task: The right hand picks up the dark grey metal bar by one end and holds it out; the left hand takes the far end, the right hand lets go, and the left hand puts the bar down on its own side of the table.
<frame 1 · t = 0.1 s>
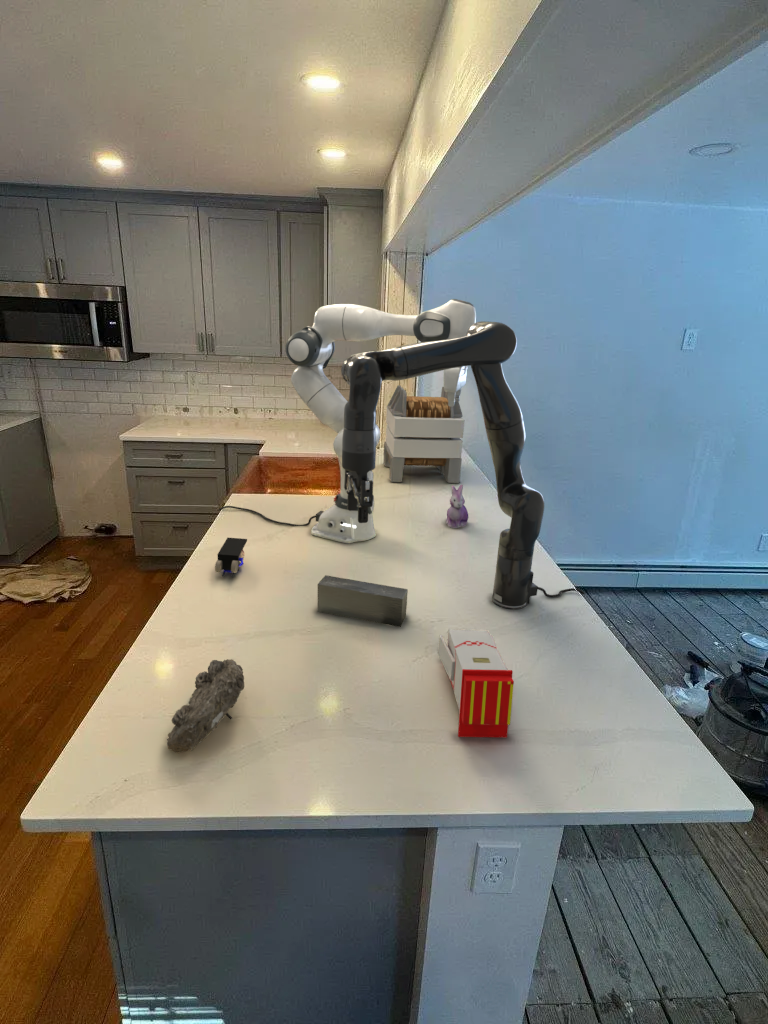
left hand: (453, 403, 174), 48 cm above the counter, tool pointing down, fingers open, 8 cm apart
right hand: (357, 516, 132), 29 cm above the counter, tool pointing down, fingers open, 8 cm apart
toy: (469, 691, 119), on the counter
figurine: (456, 524, 211), on the counter
figurine character: (232, 569, 168), on the counter
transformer: (419, 473, 275), on the counter
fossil: (212, 717, 108), on the counter
bar: (361, 614, 147), on the counter
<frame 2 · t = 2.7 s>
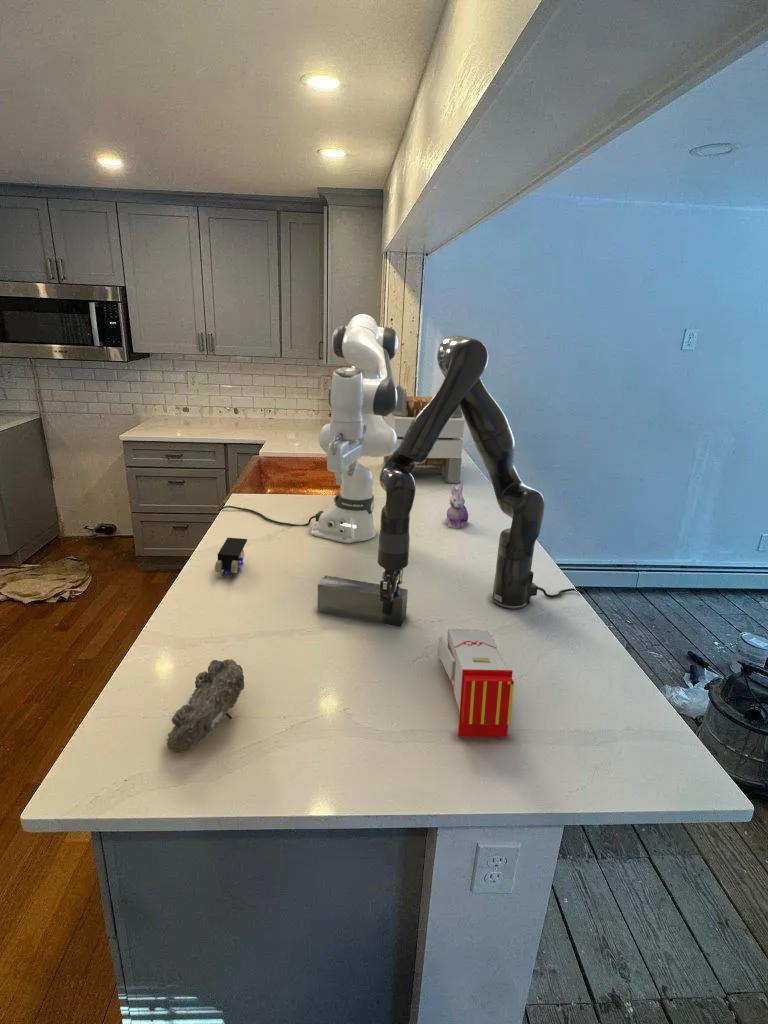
left hand: (345, 480, 157), 30 cm above the counter, tool pointing down, fingers open, 8 cm apart
right hand: (390, 607, 144), 3 cm above the counter, tool pointing down, fingers closed on bar, 5 cm apart
bar: (361, 614, 147), on the counter, touching right hand
everything else where it was.
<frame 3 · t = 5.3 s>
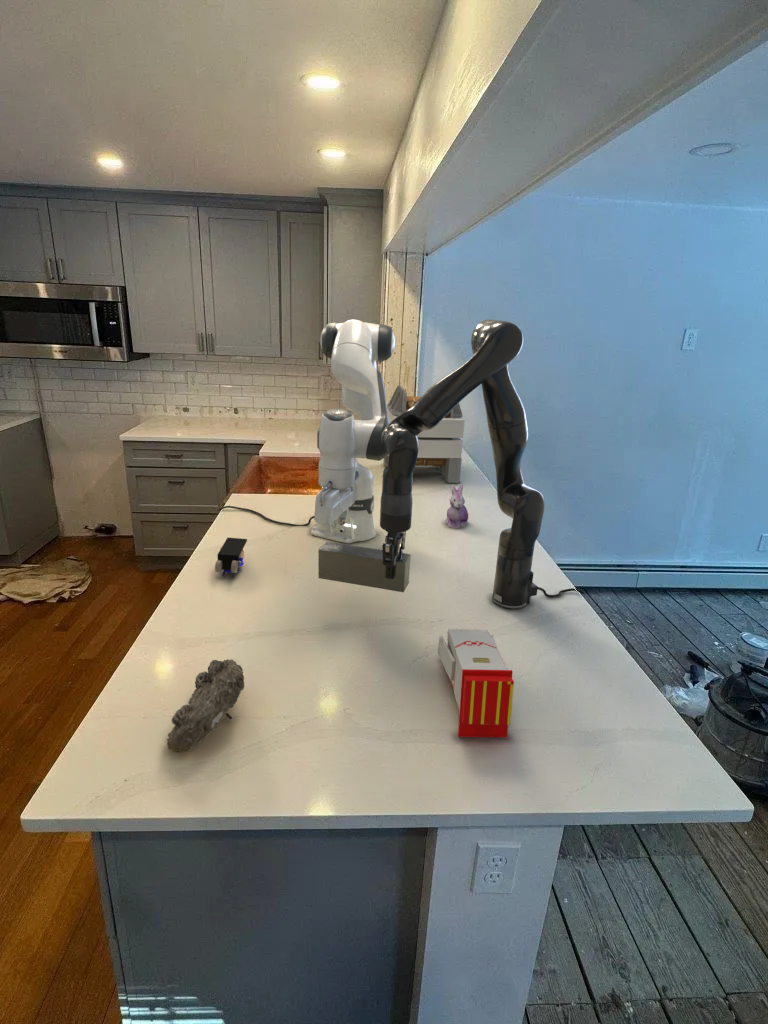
left hand: (335, 530, 143), 22 cm above the counter, tool pointing down, fingers open, 8 cm apart
right hand: (393, 572, 140), 13 cm above the counter, tool pointing down, fingers closed on bar, 5 cm apart
bar: (363, 580, 143), point 10 cm above the counter, touching right hand
everything else where it was.
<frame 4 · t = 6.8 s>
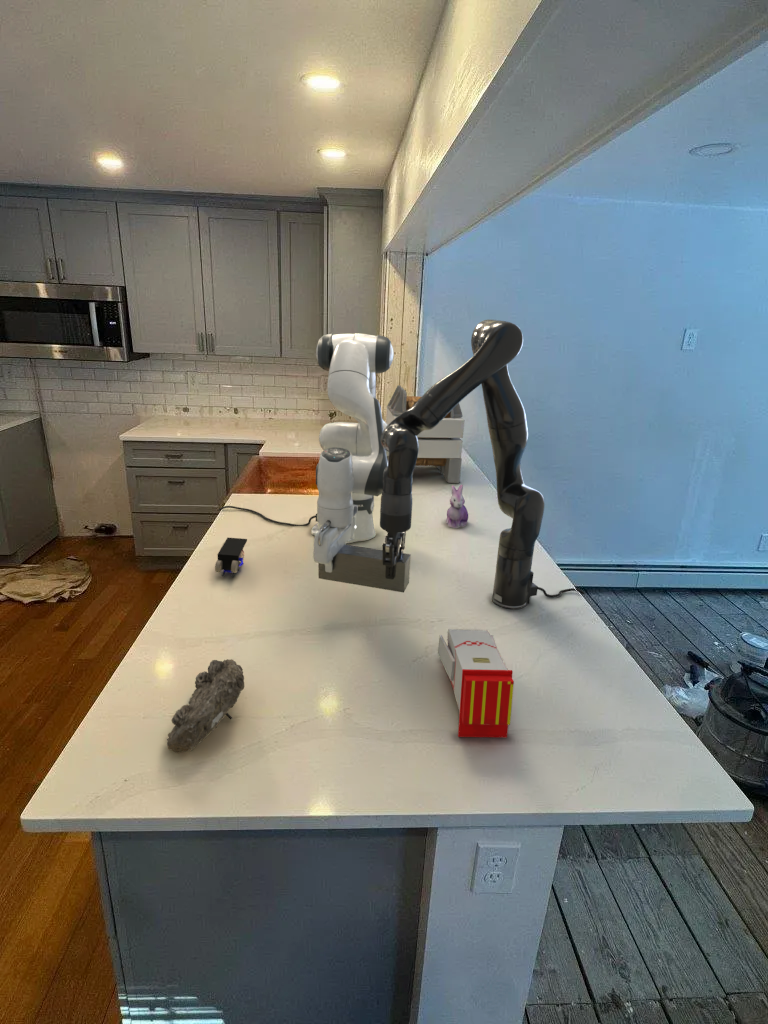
left hand: (334, 565, 144), 13 cm above the counter, tool pointing down, fingers closed on bar, 5 cm apart
right hand: (393, 573, 140), 13 cm above the counter, tool pointing down, fingers closed on bar, 5 cm apart
bar: (363, 580, 143), point 10 cm above the counter, touching left hand, right hand
everything else where it was.
when the right hand's fingers open (13 cm above the counter, at t = 8.1 s): bar stays where it is, held by the left hand.
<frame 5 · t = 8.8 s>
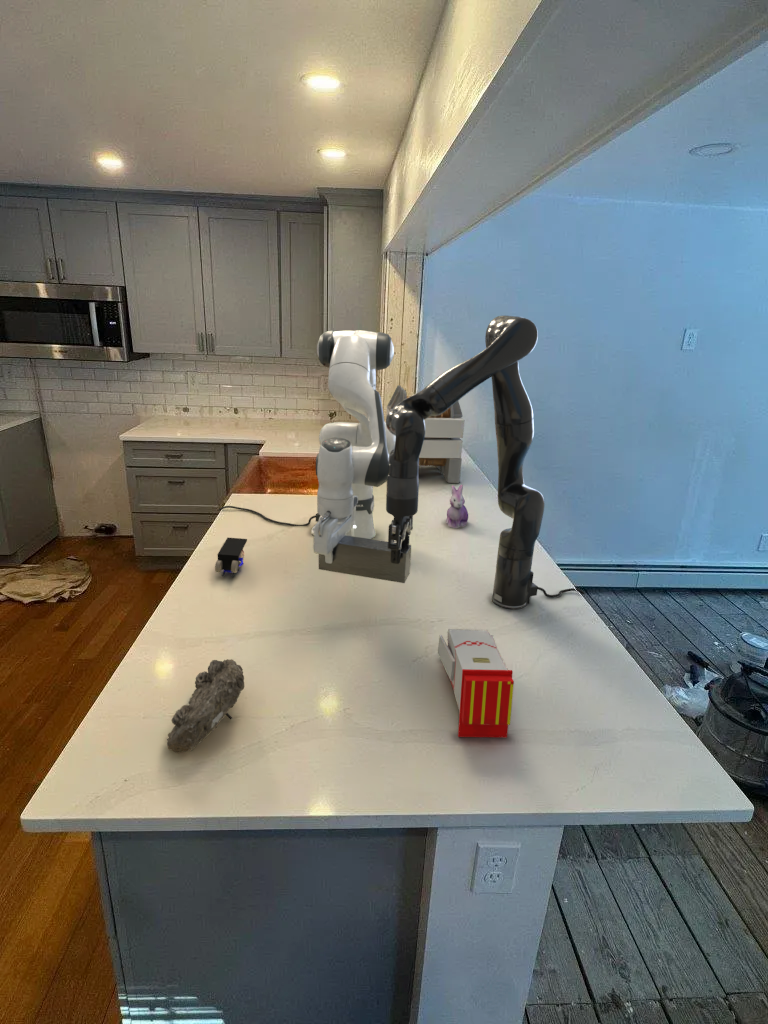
left hand: (334, 556, 144), 15 cm above the counter, tool pointing down, fingers closed on bar, 5 cm apart
right hand: (399, 555, 139), 18 cm above the counter, tool pointing down, fingers open, 8 cm apart
bar: (364, 571, 143), point 12 cm above the counter, touching left hand
everything else where it was.
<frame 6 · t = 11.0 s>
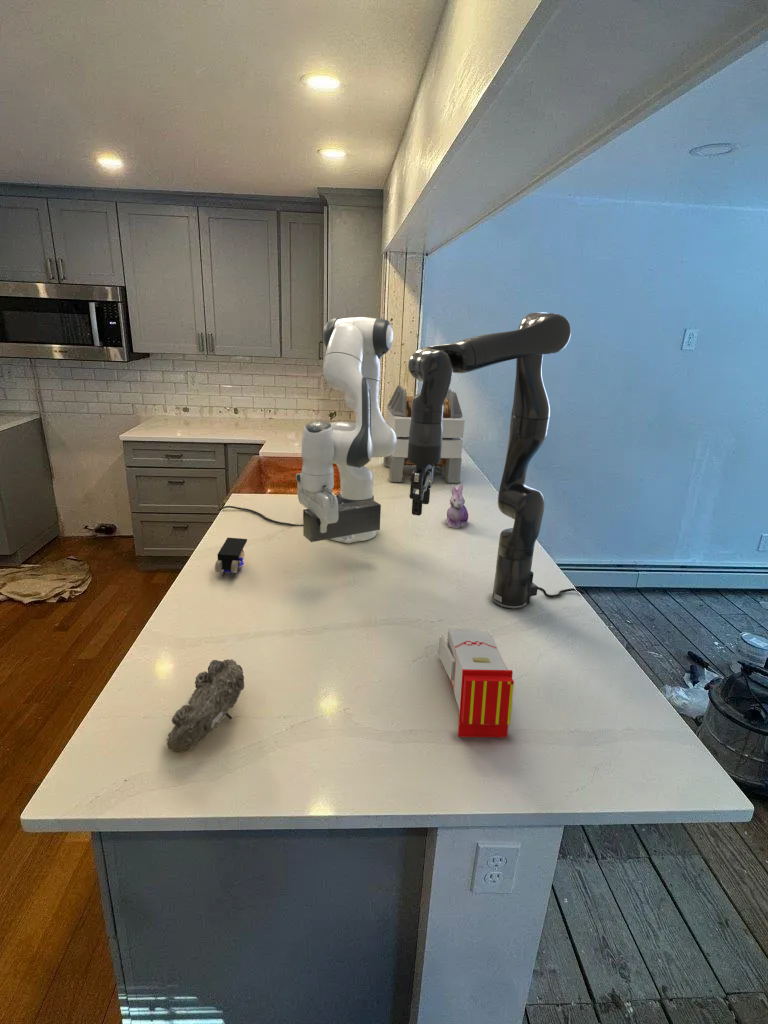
left hand: (317, 527, 161), 15 cm above the counter, tool pointing down, fingers closed on bar, 5 cm apart
right hand: (420, 509, 133), 31 cm above the counter, tool pointing down, fingers open, 8 cm apart
bar: (342, 532, 166), point 12 cm above the counter, touching left hand
everything else where it was.
when the left hand's fingers open (4 cm above the counter, at t = 12.6 s): bar stays where it is, on the counter.
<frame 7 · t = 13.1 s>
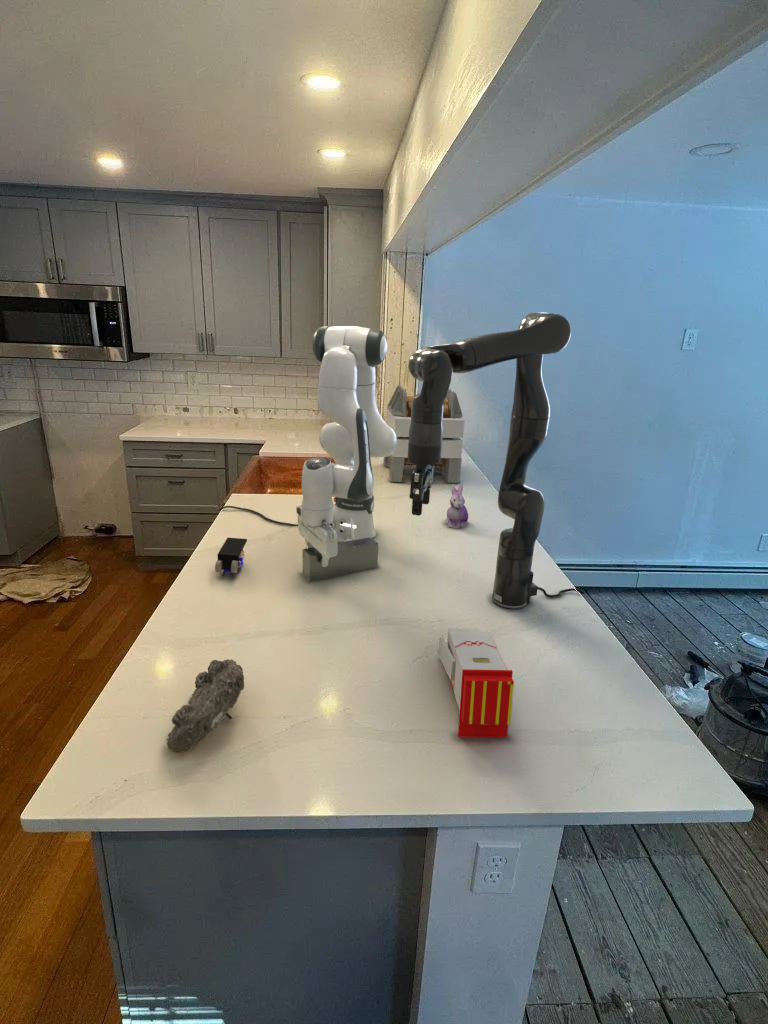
left hand: (317, 559, 165), 5 cm above the counter, tool pointing down, fingers open, 8 cm apart
right hand: (420, 509, 133), 31 cm above the counter, tool pointing down, fingers open, 8 cm apart
bar: (340, 570, 170), on the counter
everything else where it was.
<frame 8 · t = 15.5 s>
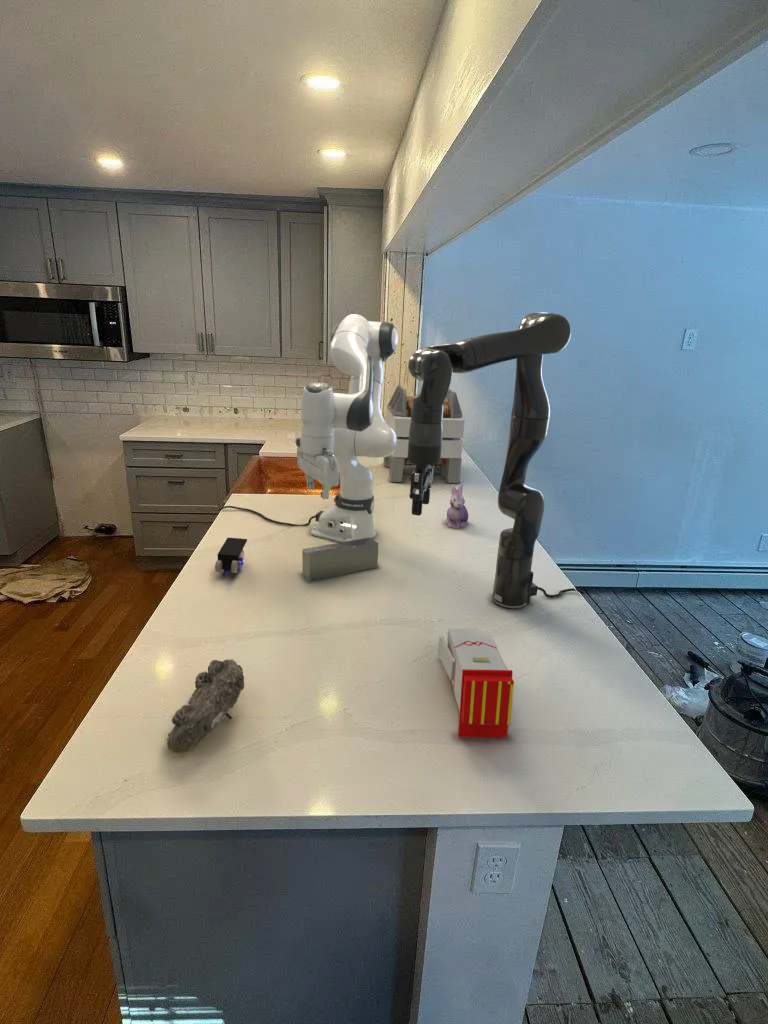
left hand: (317, 493, 158), 25 cm above the counter, tool pointing down, fingers open, 8 cm apart
right hand: (420, 509, 133), 31 cm above the counter, tool pointing down, fingers open, 8 cm apart
nothing on the counter moved.
at the end: bar inside the target area (7.6 cm from its centre), on the counter; the left hand is holding nothing; the right hand is holding nothing; bar at rest at the end (0.0 cm/s) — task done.
